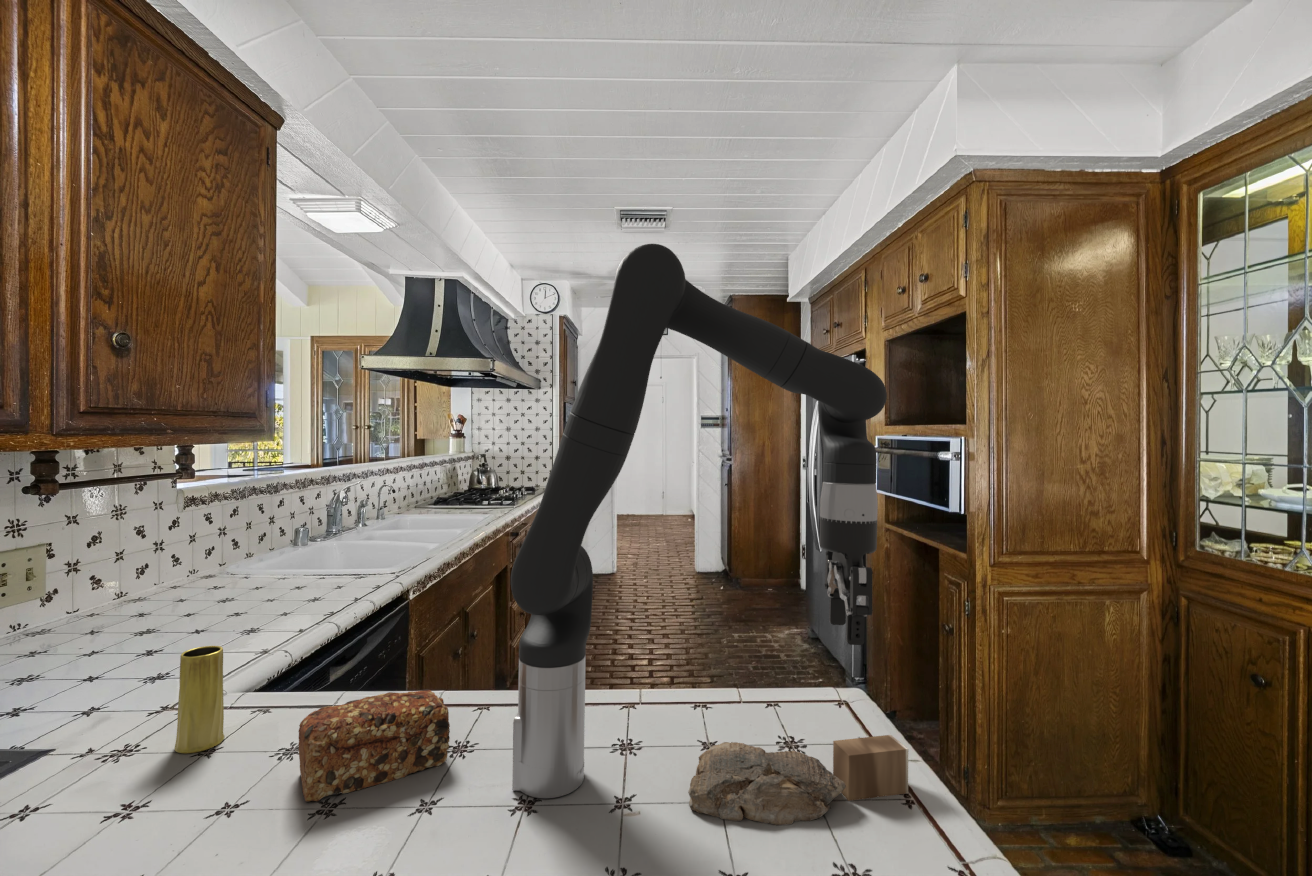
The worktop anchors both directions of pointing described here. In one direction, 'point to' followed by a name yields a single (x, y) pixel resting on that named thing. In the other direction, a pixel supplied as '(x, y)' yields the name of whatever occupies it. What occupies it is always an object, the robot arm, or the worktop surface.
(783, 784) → the clay tablet
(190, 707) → the vase
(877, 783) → the walnut block
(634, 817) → the worktop surface
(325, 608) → the worktop surface
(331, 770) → the bread
